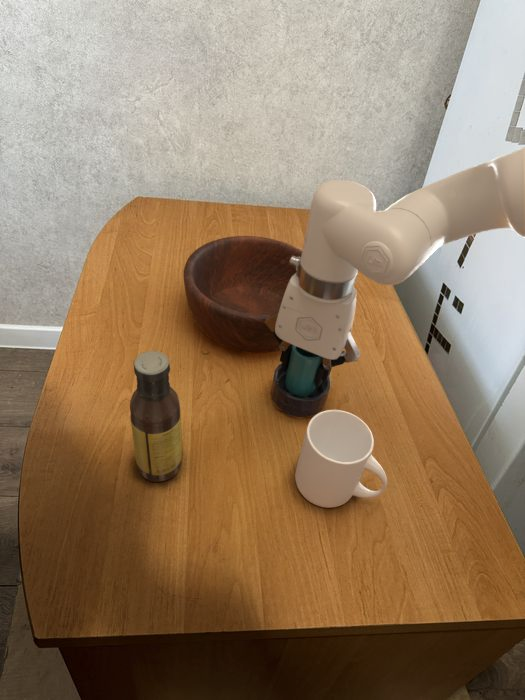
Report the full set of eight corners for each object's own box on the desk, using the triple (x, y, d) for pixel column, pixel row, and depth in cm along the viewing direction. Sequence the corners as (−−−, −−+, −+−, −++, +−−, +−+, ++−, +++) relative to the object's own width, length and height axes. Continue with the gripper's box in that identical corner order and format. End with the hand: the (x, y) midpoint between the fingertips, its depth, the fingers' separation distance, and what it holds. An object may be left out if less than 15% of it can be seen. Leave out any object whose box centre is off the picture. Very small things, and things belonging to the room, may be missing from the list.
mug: (362, 535, 69) (384, 490, 62) (282, 489, 73) (295, 441, 65) (385, 487, 75) (408, 441, 68) (310, 447, 78) (324, 399, 71)
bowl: (333, 391, 87) (338, 372, 84) (312, 428, 81) (317, 409, 78) (284, 370, 90) (288, 351, 87) (260, 404, 84) (263, 385, 80)
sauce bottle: (188, 453, 75) (191, 352, 62) (171, 489, 71) (170, 389, 57) (146, 440, 76) (140, 338, 63) (126, 476, 72) (115, 373, 58)
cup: (320, 381, 84) (330, 344, 79) (308, 401, 81) (318, 364, 76) (292, 369, 86) (300, 332, 80) (279, 388, 82) (286, 351, 77)
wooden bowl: (232, 385, 86) (237, 338, 79) (158, 300, 100) (157, 254, 93) (343, 335, 98) (356, 291, 91) (264, 266, 112) (270, 223, 105)
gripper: (255, 268, 69) (243, 366, 81) (379, 315, 65) (346, 411, 77) (280, 242, 74) (264, 338, 86) (396, 285, 70) (362, 380, 82)
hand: (303, 372), depth 81 cm, fingers closed on cup, 5 cm apart
